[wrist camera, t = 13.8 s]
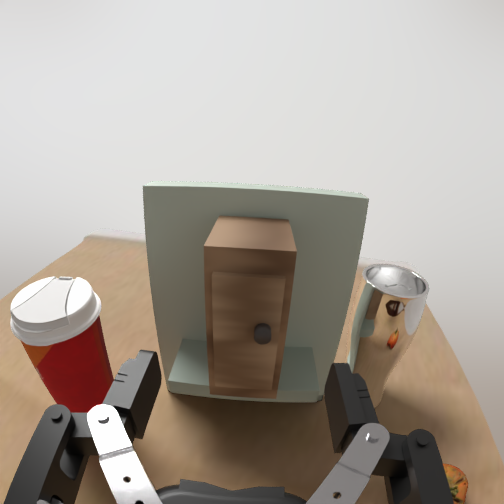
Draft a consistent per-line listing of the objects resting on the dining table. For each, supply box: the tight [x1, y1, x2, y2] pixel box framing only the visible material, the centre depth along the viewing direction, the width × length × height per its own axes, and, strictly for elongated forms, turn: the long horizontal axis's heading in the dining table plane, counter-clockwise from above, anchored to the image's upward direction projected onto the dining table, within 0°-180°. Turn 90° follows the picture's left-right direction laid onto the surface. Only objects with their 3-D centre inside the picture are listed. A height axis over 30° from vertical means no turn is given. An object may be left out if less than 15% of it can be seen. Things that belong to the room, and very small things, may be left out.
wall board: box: [143, 181, 369, 402], centre depth 25 cm, size 17×10×22 cm, turn 88°
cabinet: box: [204, 216, 297, 399], centre depth 21 cm, size 5×7×12 cm
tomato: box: [443, 464, 468, 504], centre depth 15 cm, size 8×7×7 cm
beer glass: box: [345, 264, 429, 408], centre depth 28 cm, size 7×7×15 cm
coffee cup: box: [10, 276, 114, 413], centre depth 22 cm, size 8×8×15 cm
